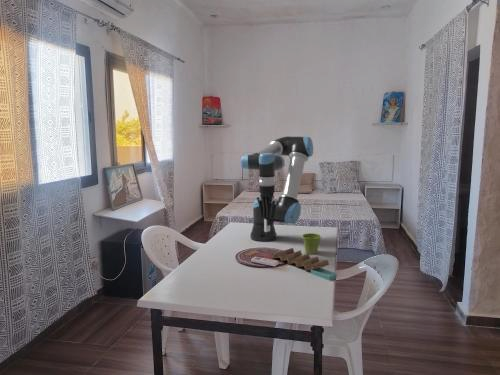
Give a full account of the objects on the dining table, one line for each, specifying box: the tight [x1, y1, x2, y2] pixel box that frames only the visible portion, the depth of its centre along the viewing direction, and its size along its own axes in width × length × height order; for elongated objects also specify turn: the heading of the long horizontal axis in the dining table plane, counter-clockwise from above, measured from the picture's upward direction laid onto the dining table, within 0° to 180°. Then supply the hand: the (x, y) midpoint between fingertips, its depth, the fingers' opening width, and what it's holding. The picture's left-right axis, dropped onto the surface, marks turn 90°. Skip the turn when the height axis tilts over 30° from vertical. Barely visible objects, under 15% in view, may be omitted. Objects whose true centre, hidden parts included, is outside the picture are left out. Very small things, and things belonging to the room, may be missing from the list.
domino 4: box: [294, 256, 320, 268], centre depth 169 cm, size 2×5×10 cm
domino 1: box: [272, 247, 295, 259], centre depth 180 cm, size 2×5×10 cm
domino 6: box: [310, 267, 338, 281], centre depth 161 cm, size 2×5×10 cm
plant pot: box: [301, 233, 322, 255], centre depth 191 cm, size 9×9×9 cm
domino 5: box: [303, 259, 330, 272], centre depth 164 cm, size 2×5×10 cm
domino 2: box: [279, 250, 303, 262], centre depth 176 cm, size 2×5×10 cm
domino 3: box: [286, 253, 311, 265], centre depth 173 cm, size 2×5×10 cm
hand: (267, 231), depth 188 cm, fingers closed
